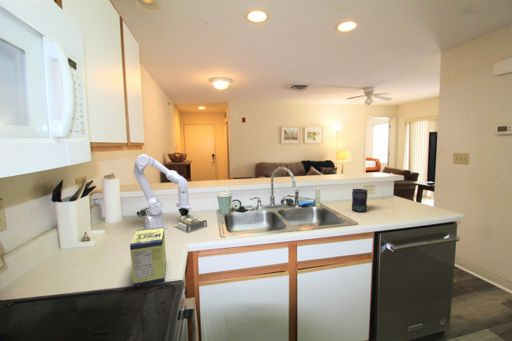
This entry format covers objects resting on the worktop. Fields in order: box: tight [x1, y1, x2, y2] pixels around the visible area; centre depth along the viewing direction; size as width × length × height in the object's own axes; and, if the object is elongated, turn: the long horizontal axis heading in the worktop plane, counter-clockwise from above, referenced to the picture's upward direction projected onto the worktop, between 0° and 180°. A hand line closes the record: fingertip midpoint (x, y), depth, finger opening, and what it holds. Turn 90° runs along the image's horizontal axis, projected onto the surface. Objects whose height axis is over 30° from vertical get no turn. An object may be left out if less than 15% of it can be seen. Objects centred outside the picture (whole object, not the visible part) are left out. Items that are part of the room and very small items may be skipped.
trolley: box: [180, 213, 200, 225], centre depth 140 cm, size 7×9×5 cm
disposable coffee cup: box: [216, 190, 233, 215], centre depth 165 cm, size 11×11×15 cm
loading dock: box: [172, 218, 208, 234], centre depth 141 cm, size 13×17×5 cm
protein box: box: [129, 227, 167, 287], centre depth 90 cm, size 10×16×16 cm
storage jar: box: [351, 188, 368, 214], centre depth 165 cm, size 10×10×15 cm
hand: (184, 219), depth 144 cm, fingers closed
